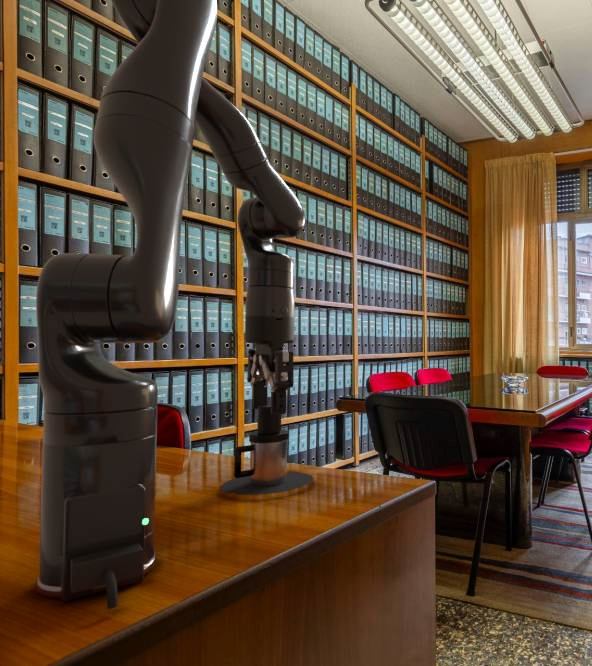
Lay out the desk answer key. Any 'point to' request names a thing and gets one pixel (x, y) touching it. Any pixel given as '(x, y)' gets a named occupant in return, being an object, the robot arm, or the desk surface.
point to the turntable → (245, 488)
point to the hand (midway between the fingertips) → (268, 411)
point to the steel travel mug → (265, 451)
